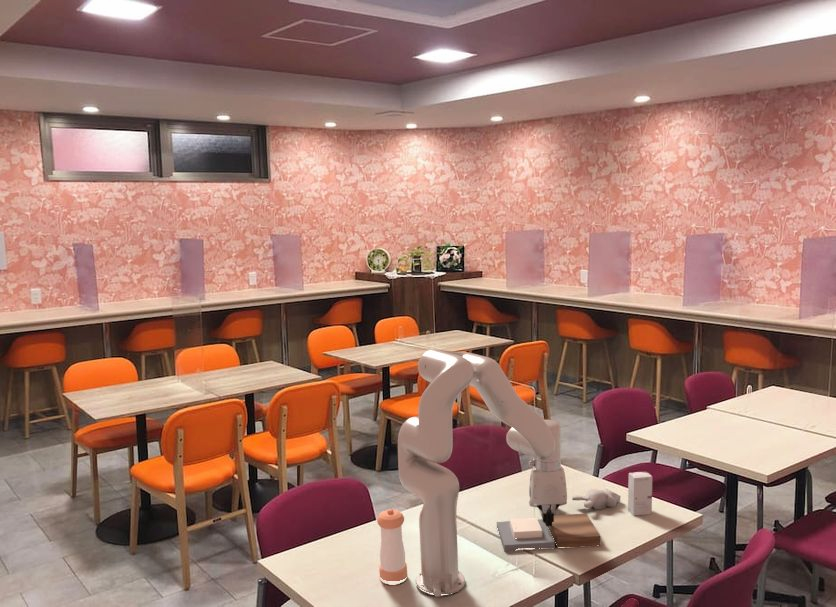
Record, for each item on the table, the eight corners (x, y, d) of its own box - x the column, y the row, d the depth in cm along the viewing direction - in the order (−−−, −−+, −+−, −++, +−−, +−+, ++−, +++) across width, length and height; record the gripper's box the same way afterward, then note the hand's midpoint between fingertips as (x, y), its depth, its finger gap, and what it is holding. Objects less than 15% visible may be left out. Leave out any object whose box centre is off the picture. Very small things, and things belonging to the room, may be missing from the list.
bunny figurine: (627, 494, 223) (589, 499, 216) (625, 510, 223) (588, 516, 217) (606, 483, 231) (569, 488, 224) (605, 499, 232) (568, 504, 225)
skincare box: (633, 516, 216) (633, 478, 215) (627, 509, 221) (627, 472, 219) (652, 514, 217) (653, 476, 215) (646, 507, 222) (646, 470, 220)
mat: (554, 548, 199) (554, 542, 199) (504, 551, 199) (504, 545, 198) (543, 525, 213) (543, 519, 213) (496, 528, 212) (496, 522, 212)
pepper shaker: (392, 568, 193) (388, 501, 190) (413, 576, 188) (409, 507, 185) (374, 579, 187) (370, 511, 184) (395, 588, 182) (391, 518, 179)
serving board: (600, 545, 200) (600, 535, 199) (557, 548, 199) (557, 538, 199) (586, 522, 213) (586, 513, 213) (546, 525, 213) (546, 515, 212)
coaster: (542, 537, 202) (542, 530, 202) (514, 538, 202) (513, 532, 201) (536, 524, 210) (536, 517, 209) (509, 525, 210) (509, 519, 209)
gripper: (523, 470, 199) (524, 532, 201) (576, 467, 199) (577, 528, 202) (518, 460, 206) (519, 520, 209) (569, 457, 207) (570, 516, 209)
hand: (548, 524), depth 205 cm, fingers closed
